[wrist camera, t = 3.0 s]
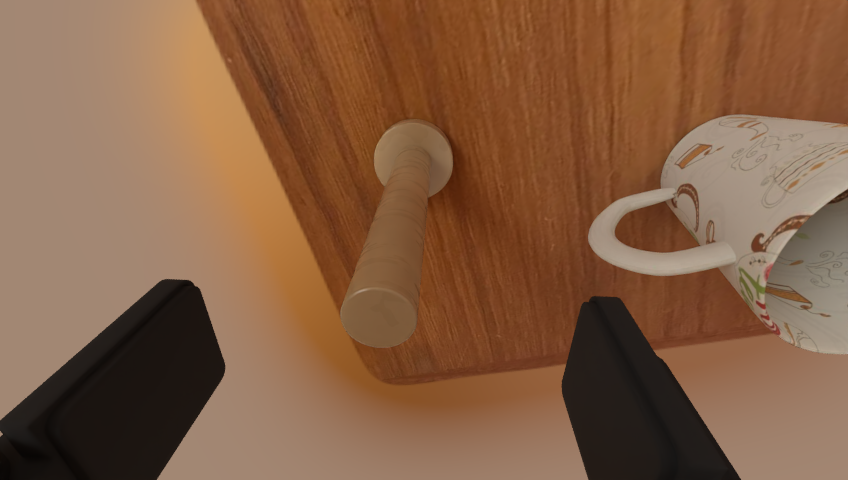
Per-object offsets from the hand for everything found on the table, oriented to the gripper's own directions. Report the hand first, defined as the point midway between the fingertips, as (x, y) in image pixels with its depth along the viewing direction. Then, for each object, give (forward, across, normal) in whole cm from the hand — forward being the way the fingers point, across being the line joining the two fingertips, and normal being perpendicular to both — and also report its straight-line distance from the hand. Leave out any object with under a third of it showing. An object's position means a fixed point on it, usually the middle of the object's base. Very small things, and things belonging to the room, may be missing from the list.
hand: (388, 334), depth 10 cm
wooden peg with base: (+14, 0, 0) cm, 14 cm away
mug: (+15, -14, +1) cm, 21 cm away
